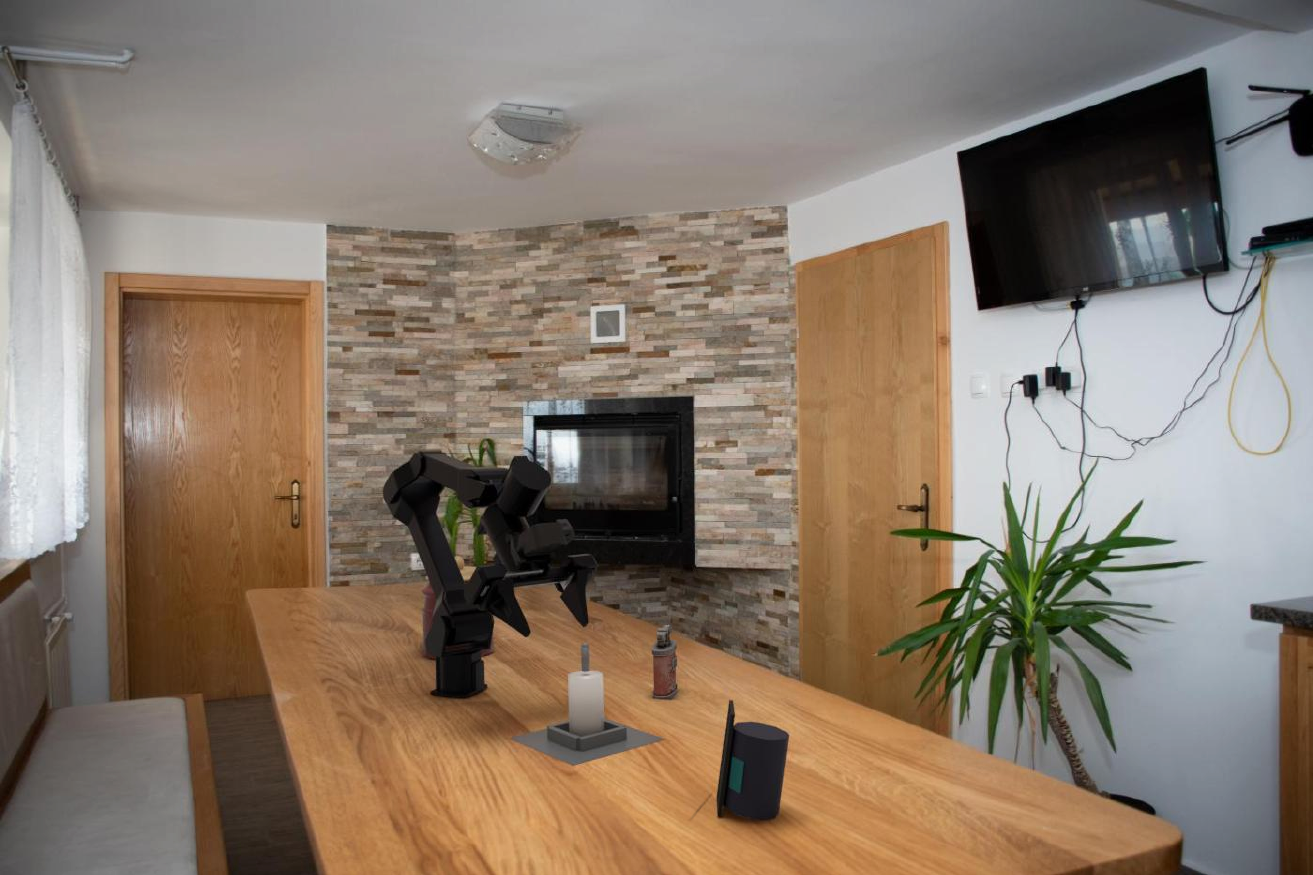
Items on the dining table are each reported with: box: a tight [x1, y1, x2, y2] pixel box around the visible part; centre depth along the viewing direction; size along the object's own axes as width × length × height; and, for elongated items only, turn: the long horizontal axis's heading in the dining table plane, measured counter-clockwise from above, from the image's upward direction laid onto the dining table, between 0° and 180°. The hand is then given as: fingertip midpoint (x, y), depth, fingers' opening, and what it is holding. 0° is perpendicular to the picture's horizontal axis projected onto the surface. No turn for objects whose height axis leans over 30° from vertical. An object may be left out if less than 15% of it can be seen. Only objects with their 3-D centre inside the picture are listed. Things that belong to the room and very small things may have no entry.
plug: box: [567, 642, 605, 737], centre depth 117 cm, size 4×4×12 cm
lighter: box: [651, 624, 678, 701], centre depth 139 cm, size 8×3×10 cm, turn 168°
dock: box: [509, 717, 666, 767], centre depth 117 cm, size 14×14×2 cm
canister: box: [420, 556, 495, 660], centre depth 171 cm, size 13×13×18 cm
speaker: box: [716, 699, 790, 821], centre depth 94 cm, size 8×6×10 cm
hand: (558, 630), depth 123 cm, fingers open, 9 cm apart
